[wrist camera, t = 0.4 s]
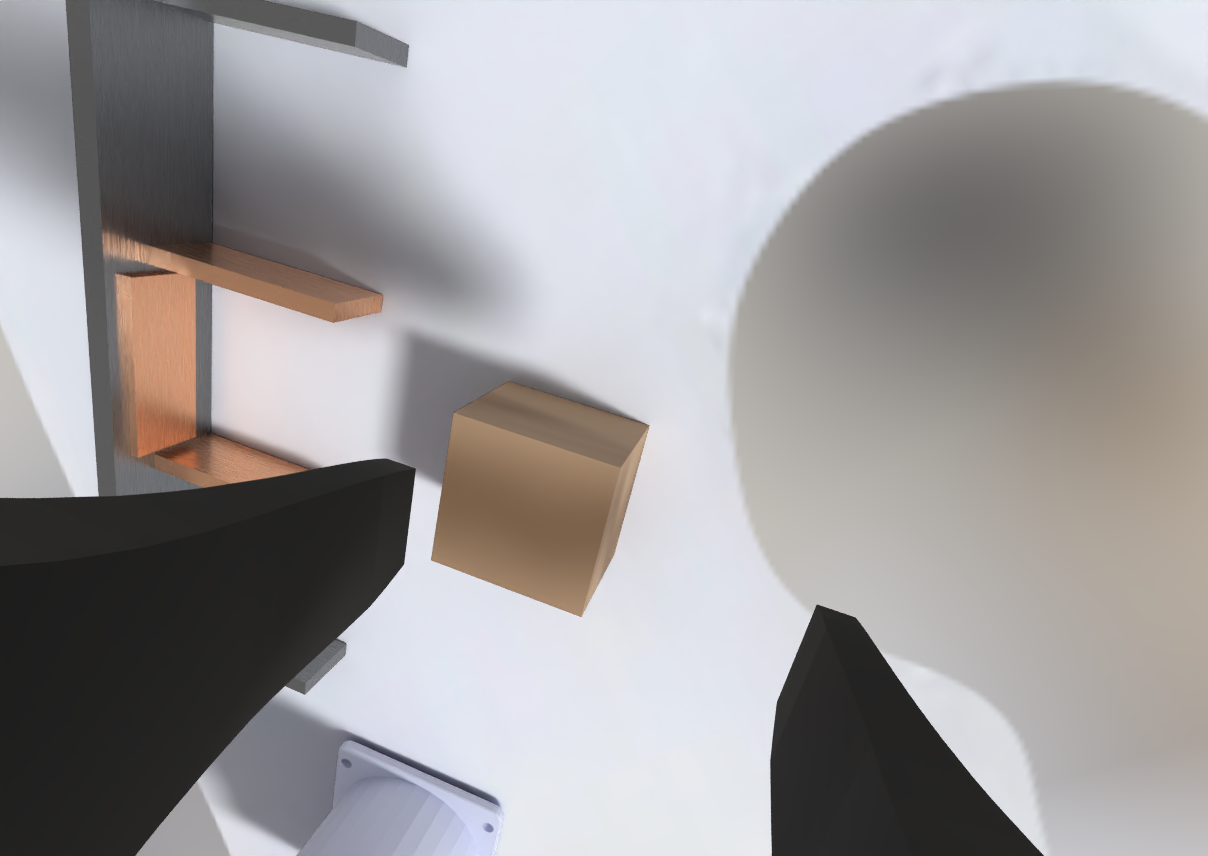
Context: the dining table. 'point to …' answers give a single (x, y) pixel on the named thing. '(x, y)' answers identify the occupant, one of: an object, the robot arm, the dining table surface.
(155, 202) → the rack
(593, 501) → the walnut block
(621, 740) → the dining table surface
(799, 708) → the robot arm
